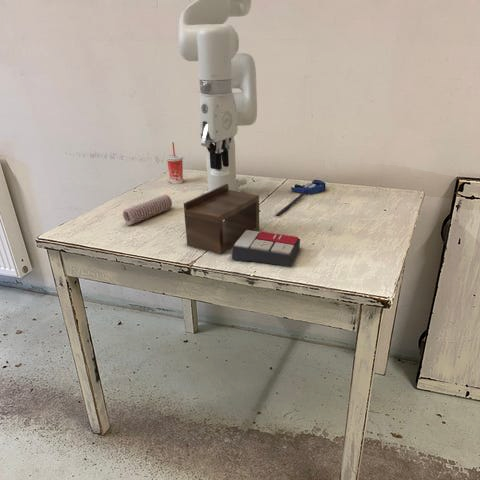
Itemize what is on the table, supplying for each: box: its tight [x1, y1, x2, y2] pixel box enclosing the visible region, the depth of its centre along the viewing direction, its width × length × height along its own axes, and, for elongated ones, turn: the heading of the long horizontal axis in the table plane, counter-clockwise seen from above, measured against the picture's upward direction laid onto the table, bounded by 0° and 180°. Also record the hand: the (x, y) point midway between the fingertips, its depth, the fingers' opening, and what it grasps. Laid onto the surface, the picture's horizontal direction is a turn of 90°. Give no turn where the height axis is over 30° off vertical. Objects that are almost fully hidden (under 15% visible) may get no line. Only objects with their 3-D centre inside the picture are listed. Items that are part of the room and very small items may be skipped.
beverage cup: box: [165, 141, 184, 185], centre depth 174 cm, size 6×6×14 cm
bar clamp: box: [275, 179, 327, 217], centre depth 158 cm, size 32×2×10 cm
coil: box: [122, 194, 173, 226], centre depth 147 cm, size 5×5×18 cm
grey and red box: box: [231, 230, 301, 267], centre depth 122 cm, size 11×4×15 cm
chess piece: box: [210, 140, 230, 176], centre depth 121 cm, size 5×5×10 cm
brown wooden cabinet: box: [183, 184, 260, 255], centre depth 130 cm, size 19×11×12 cm, turn 147°
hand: (219, 166), depth 123 cm, fingers closed on chess piece
